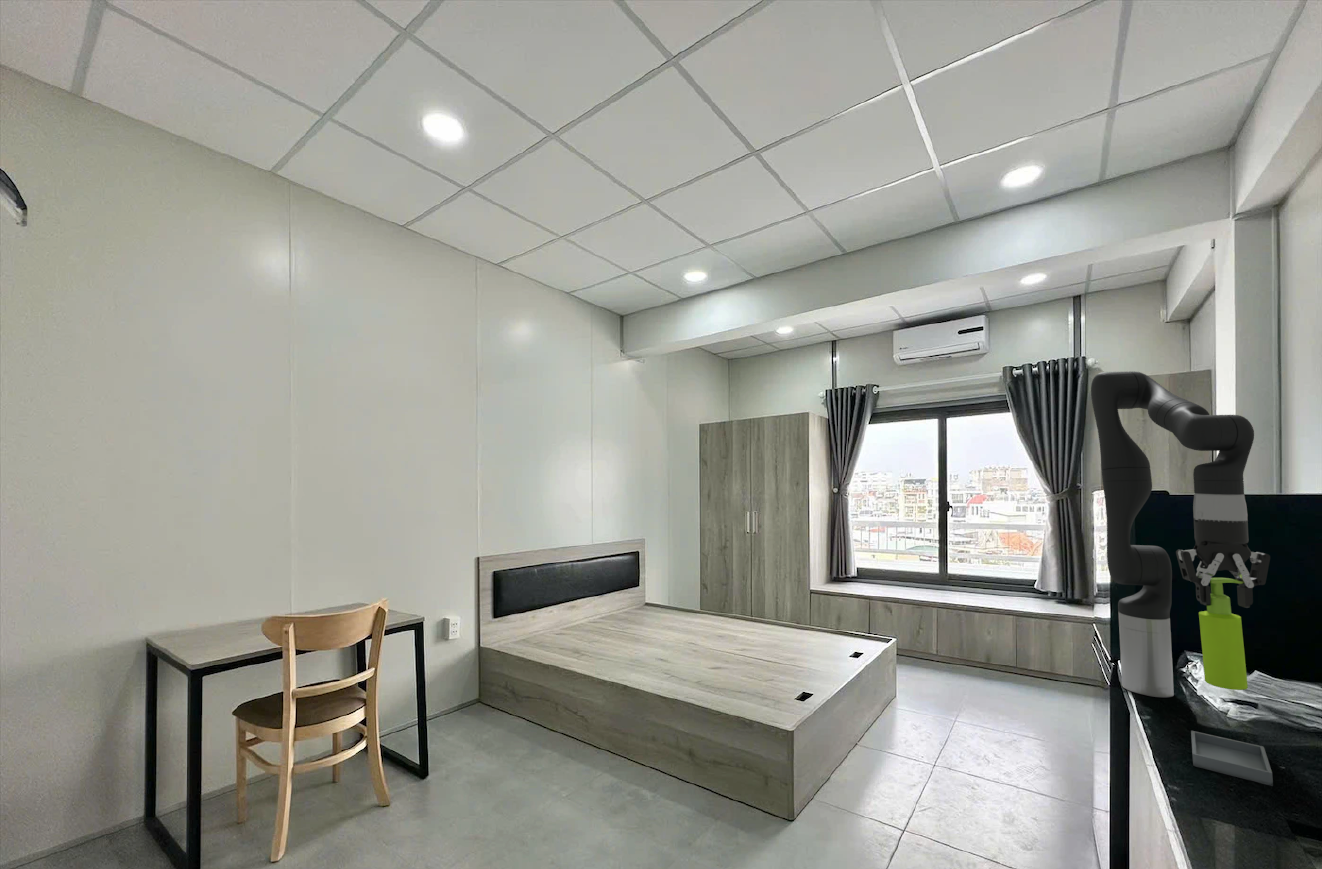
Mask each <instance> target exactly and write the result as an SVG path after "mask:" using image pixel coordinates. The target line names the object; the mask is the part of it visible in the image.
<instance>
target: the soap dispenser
mask: <svg viewBox="0 0 1322 869" xmlns="http://www.w3.org/2000/svg"><path fill="white" fill-rule="evenodd" d="M1226 583H1227V584H1228V583H1229V584H1230V583H1231V584H1238V583H1239V584H1243V582H1242V581H1238V580H1236V579H1235V578H1229V577H1212V578H1211V580H1210V582H1209V584H1210V596H1211V605H1210V606H1208V605H1206V610H1204V611H1202V610H1201V611H1199V612H1198V618H1199V630H1200V641H1201V642H1200V643H1201V650H1202V651H1201V652H1202V663H1203V674H1204V681H1205V683H1206V684H1208V685H1211V686H1214V687H1217V688H1221V689H1226V690H1227V689H1228V690H1233V691H1243V690H1247V689H1248V688H1249V685H1248V676H1247V675H1248V674H1247V667H1246V665H1247V664H1246V654H1245V646H1244V635H1243V624H1242V616H1240V615H1239V614H1234V613H1232V606H1231V598H1230V597H1229V596H1228V595H1226V594H1224V586H1223V584H1226ZM1239 584H1238V585H1239Z"/></svg>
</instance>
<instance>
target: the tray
mask: <svg viewBox="0 0 1322 869" xmlns="http://www.w3.org/2000/svg"><path fill="white" fill-rule="evenodd" d="M1190 734H1191V735H1190V737H1191V752H1192V766H1193V767H1196V768H1201V769H1205V770H1207V771H1208V770H1209V771H1212V772H1216V773H1219V774H1224V775H1228V776H1232V777H1235V778H1236V777H1237V778H1240V779H1242V780H1247V781H1251V782H1255V783H1259V784H1263V785H1267V786H1271V787H1274V780H1273V771H1272V769H1271V765H1270V761H1269V758H1268V756H1267V753H1266V749H1265V747H1264V746H1262V745H1258V744H1253V743H1250V742H1246V741H1245V742H1244V741H1239V740H1237V739H1236V740H1235V739H1231V738H1227V737H1222V736H1217V735H1213V734H1208V733H1204V732H1199V731H1194V730H1190Z"/></svg>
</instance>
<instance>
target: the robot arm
mask: <svg viewBox="0 0 1322 869" xmlns="http://www.w3.org/2000/svg"><path fill="white" fill-rule="evenodd" d="M1090 398H1091V399H1090V400H1091V405H1092V408H1093V413H1094V419H1095V423H1096V429H1097V434H1098V441H1099V443H1098V444H1099V451H1100V452H1099V453H1100V467H1101V477H1102V478H1101V479H1102V487H1103V493H1104V494H1103V495H1104V503H1105V511H1106V512H1105V513H1106V561H1107V562H1106V563H1107V568H1108V573H1109V575H1110V577H1111V579H1112V580H1113V581H1114V582H1115V583H1116V584H1119V585H1127V586H1128V585H1129V586H1131V585H1132V586H1142V588H1141V589H1140V590H1139V591H1138V592H1136V593H1134V594H1132V595H1129V596H1126V597H1123V598H1120V599H1119V600H1118V602H1117V611H1118V627H1119V648H1120V650H1119V651H1120V652H1119V653H1120V654H1119V655H1120V671H1121V672H1120V673H1121V674H1120V675H1121V686H1122V687H1123V688H1124V689H1126V690H1127V691H1130V692H1132V693H1135V694H1139V695H1144V696H1148V697H1153V698H1154V697H1155V698H1172V697H1174V695H1175V693H1174V672H1173V652H1172V632H1171V617H1170V613H1171V608H1172V601H1173V600H1172V590H1173V589H1172V587H1173V586H1172V585H1173V584H1172V583H1173V582H1172V581H1173V570H1172V569H1173V568H1172V562H1171V559H1170V555H1169V554H1168V552H1167V551H1166V550H1165V549H1164V548H1163V547H1161V546H1158V545H1148V544H1147V545H1143V544H1142V545H1140V544H1131V532H1132V531H1131V530H1132V526H1133V523H1134V521H1135V519H1136V517H1137V515H1138V514H1139V512H1140V511H1141V510H1142V509H1143V507H1144V505H1145V504H1146V502H1147V501H1148V499H1149V497H1150V496H1151V493H1152V490H1153V480H1152V473H1151V464H1150V461H1149V458H1148V457H1147V455H1146V453H1145V452H1144V451H1143V450H1142V448H1141V447H1140V446H1139V445H1138V444H1137V443H1136V442H1135V441H1134V439H1133V438H1132V437H1131V436H1130V435H1129V434H1128V432H1127V430H1126V428H1125V427H1124V426H1123V424H1122V421H1121V418H1120V414H1119V410H1132V409H1141V410H1142V409H1144V410H1147V413H1148V417H1149V418H1150V419H1151V421H1152V422H1153V423H1155V425H1157V426H1159V427H1161V428H1163V429H1164V430H1166V431H1168V432H1171V433H1172V434H1173V435H1174V436H1175V438H1176V439H1177V440H1178V441H1179V443H1180V444H1181V445H1182V446H1183V447H1185V448H1187V449H1190V450H1193V451H1200V452H1209V451H1210V452H1211V451H1214V452H1218V454H1217V456H1216V457H1215V459H1214V460H1213V461H1211V462H1206V463H1205V462H1204V463H1201V464H1197V465H1196V466H1194V468H1193V472H1192V473H1193V493H1194V494H1193V503H1192V505H1193V506H1192V512H1193V513H1192V514H1193V529H1194V531H1193V532H1194V541H1195V544H1194V546H1193V548H1192V549H1185V550H1183V549H1177V550H1176V551H1175V555H1176V558H1177V562H1178V567H1179V569H1180V573H1181V576H1182V579H1183V580H1186V581H1190V582H1191V583H1193V584H1194V585H1195V596H1196V600H1197V601H1198V602H1199V603H1200V605H1203V606H1207V605H1208V606H1210V605H1211V596H1210V593H1211V586H1209V584H1210V583H1209V582H1210V580H1211V578H1213V577H1214V576H1215V575H1216V573H1217V572H1218V571H1219V572H1220V571H1229V572H1230V574H1231V575H1233V577H1234V580H1238V581H1242V582H1243V584H1239V583H1237V584H1238V585H1236V591H1237V592H1236V593H1237V595H1236V596H1237V605H1238V606H1239V607H1242V608H1246V609H1248V608H1251V606H1252V605H1253V604H1254V595H1253V594H1254V593H1253V588H1254V587H1257V586H1265V585H1266V583H1267V578H1268V574H1269V573H1268V572H1269V566H1270V561H1271V555H1270V554H1268V553H1264V552H1260V551H1256V552H1254V551H1251V549H1250V548H1249V546H1248V544H1249V540H1250V539H1249V523H1248V522H1249V520H1248V516H1249V515H1248V508H1247V502H1246V496H1245V485H1244V484H1245V483H1244V482H1245V481H1244V472H1245V468H1246V466H1247V462H1248V459H1249V456H1250V452H1251V450H1252V447H1253V443H1254V440H1255V430H1254V427H1253V425H1252V423H1251V422H1250V421H1249V419H1247V418H1246V417H1245V416H1242V415H1239V414H1210V413H1209V411H1208V410H1207V409H1206V408H1204V407H1203V406H1201V405H1199V404H1197V403H1194V402H1192V401H1190V400H1187V399H1185V398H1182V397H1180V396H1177V395H1176V394H1173V393H1172V392H1170V391H1169V390H1168V389H1167V388H1165V387H1164V386H1162V385H1161V384H1160V383H1158V382H1157V381H1156V380H1154V379H1153V378H1152V377H1150V375H1147V374H1146V373H1143V372H1140V371H1105V372H1104V371H1103V372H1099V373H1097V374H1096V375H1095V376H1094V377H1093V379H1092V380H1091V385H1090ZM1195 557H1197V559H1198V560H1199V564H1198V566H1197V568H1196V569H1195V566H1194V563H1193V562H1194V560H1195ZM1248 560H1249V561H1250V562H1251V567H1250V572H1249V570H1248V568H1247V567H1246V565H1245V563H1246V562H1247V561H1248Z"/></svg>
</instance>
